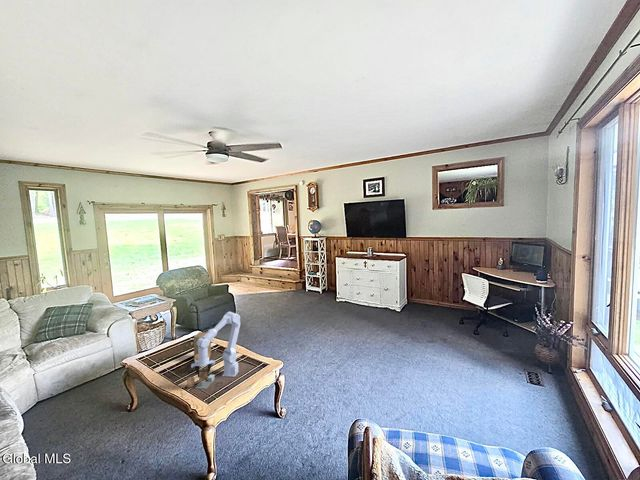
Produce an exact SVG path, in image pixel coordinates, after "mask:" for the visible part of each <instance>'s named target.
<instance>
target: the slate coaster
mask: <svg viewBox="0 0 640 480" xmlns="http://www.w3.org/2000/svg"><path fill="white" fill-rule="evenodd" d="M212 383H213V381H212V382H208V380H202V381H199V383H198V384H197V385H196V386H194V389H198V390H201V389H202V390H207V389H208V388H209V387H210V386H211V384H212Z"/></svg>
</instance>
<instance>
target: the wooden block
mask: <svg viewBox="0 0 640 480" xmlns="http://www.w3.org/2000/svg"><path fill="white" fill-rule="evenodd" d="M207 332H208V331H206V332H204V331H200V332H198V333H196V334H195V335H194V336H193V360H194V362H195V358H194V356H195V355H196V354H198V345H197V344H196V343H197V341H198V339H199V338H202V337H203V336H204V335H205V334H206V333H207ZM208 353H209V354H210V356H209V358H211V355H212V340H211V341H210V343H209V346H208Z"/></svg>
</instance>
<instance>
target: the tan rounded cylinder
mask: <svg viewBox="0 0 640 480" xmlns="http://www.w3.org/2000/svg"><path fill="white" fill-rule="evenodd" d="M186 381H187V382H186V383H187V384H186V385H187V388H189V389H191V388H195V387H196V386H195V383H196V382H195V381H196V380H195V377H194V376H190V377H188V378H187V379H186Z"/></svg>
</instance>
